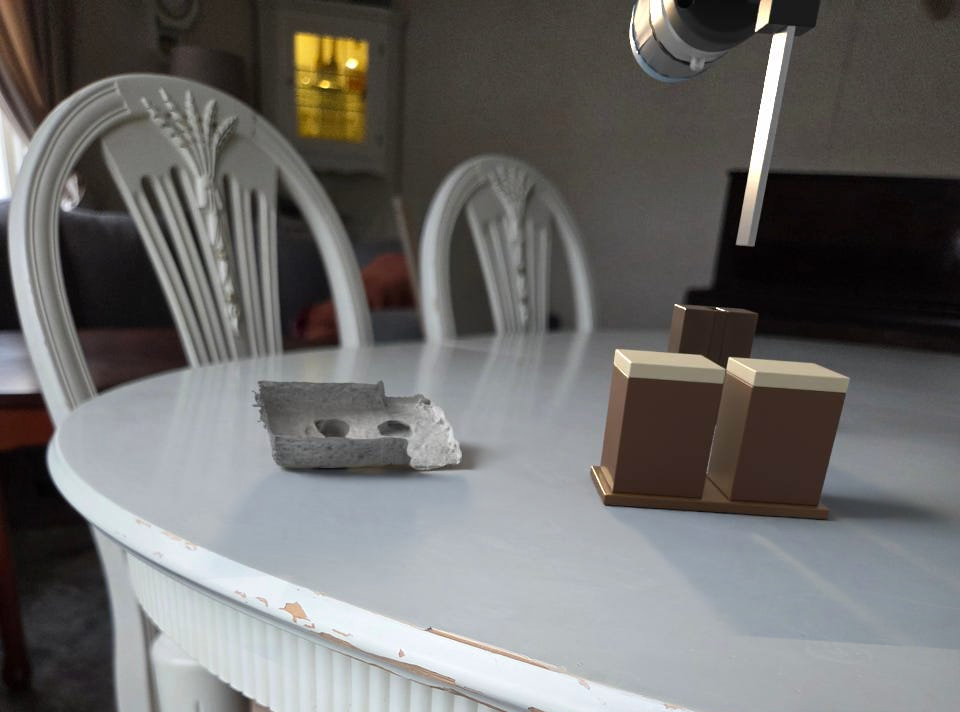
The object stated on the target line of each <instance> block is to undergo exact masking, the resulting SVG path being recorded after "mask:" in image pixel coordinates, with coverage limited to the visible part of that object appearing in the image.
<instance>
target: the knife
mask: <svg viewBox="0 0 960 712" xmlns="http://www.w3.org/2000/svg"><path fill="white" fill-rule="evenodd" d="M821 2H822V0H761V1H760V6H759V12H758V18H757V24H756V30H755V32H756V34H763V35H773V37H772V41H771V47H770V53H769V58H768V64H767V68H766V74H765V75H766V76H765V80H764V87H763V92H762V97H761V103H760V109H759V114H758V119H757V125H756V131H755V135H754V136H755V137H754V140H753V142H754V143H753V146H752V147H753V148H752V152H751V158H750V165H749V171H748V174H747V181H746V185H745V192H744V197H743V202H742V203H743V204H742V209H741V215H740V219H739V226H738V231H737V236H736V242H735V246H740V247H741V246H743V247H744V246H745V247H755V246H756V245H755V243H756V241H757V233H758V228H759V223H760V219H761V213H762V208H763V202H764V196H765V192H766V185H767V181H768V175H769V171H770V165H771V160H772V155H773V149H774V144H775V138H776V133H777V127H778V123H779V117H780V113H781V112H780V111H781V107H782V102H783V96H784V90H785V86H786V80H787V75H788V69H789V63H790V58H791V53H792V49H793V43H794V38H795V37H801V36H803V35H804V34H806V33H807V32H809V31H811V30H813V29H814V28H816V26H817V21H818V17H819V12H820V6H821Z"/></svg>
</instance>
